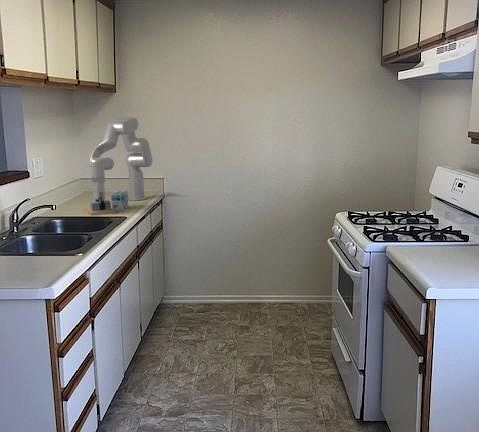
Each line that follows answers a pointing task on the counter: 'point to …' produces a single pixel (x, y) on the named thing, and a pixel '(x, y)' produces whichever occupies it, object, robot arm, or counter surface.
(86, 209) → the oak board
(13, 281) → the counter surface
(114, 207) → the light bulb box
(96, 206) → the sanding block
